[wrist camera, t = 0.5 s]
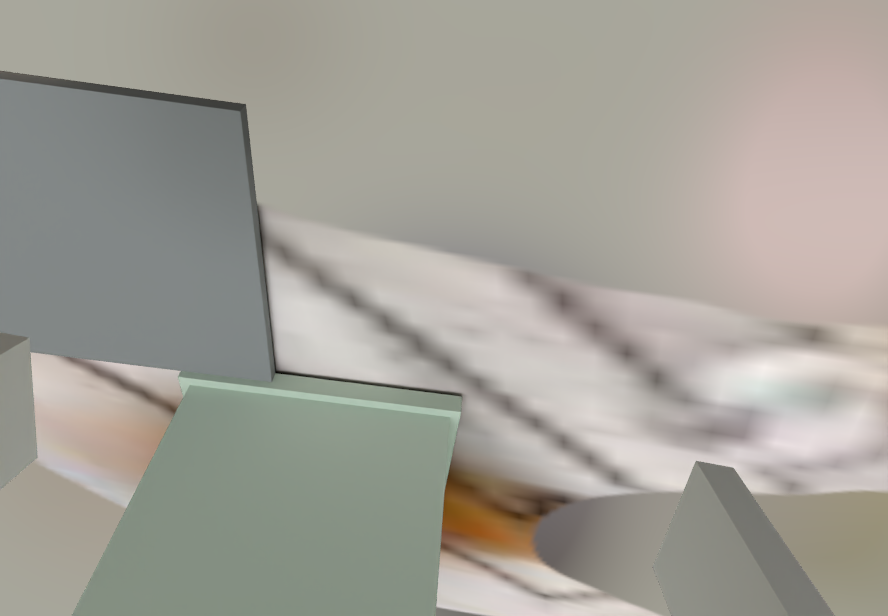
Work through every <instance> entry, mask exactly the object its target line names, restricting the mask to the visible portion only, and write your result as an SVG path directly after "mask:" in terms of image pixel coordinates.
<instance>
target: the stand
mask: <svg viewBox="0 0 888 616" xmlns="http://www.w3.org/2000/svg"><path fill="white" fill-rule="evenodd" d="M178 379H179V383H180V387H181V390H182V394H183V399H182V401H181V403H180V405H179V407H178V409H177V411H176V413H175V415H174V417H173V419H172V421H171V423H170V425H169V426H168V428H167V430H166V432H165V434H164V436H163V438H162V440H161V442H160V444H159V446H158V448H157V450H156V452H155V454H154V456H153V458H152V460H151V462H150V464H149V466H148V467H147V469H146V471H145V473H144V475H143V477H142V479H141V481H140V483H139V485H138V487H137V489H136V491H135V493H134V495H133V497H132V499H131V501H130V503H129V505H128V507H127V509H126V511H125V512H124V515H123V517H122V518H121V520H120V522H119V524H118V526H117V528H116V530H115V532H114V534H113V536H112V538H111V540H110V542H109V544H108V546H107V548H106V550H105V552H104V553H103V556H102V557H101V559H100V561H99V563H98V565H97V567H96V569H95V571H94V573H93V575H92V577H91V579H90V581H89V583H88V585H87V587H86V589H85V591H84V593H83V595H82V597H81V599H80V600H79V603H78V604H77V606H76V608H75V610H74V613H73V614H72V616H435V614H436V601H437V587H438V574H439V560H440V546H441V532H442V519H443V505H444V491H445V487H446V482H447V477H448V472H449V467H450V463H451V458H452V453H453V448H454V444H455V439H456V434H457V429H458V424H459V420H460V415H461V405H462V397H461V396H453V395H445V394H437V393H429V392H421V391H413V390H405V389H397V388H389V387H381V386H373V385H365V384H357V383H349V382H341V381H333V380H325V379H317V378H309V377H301V376H293V375H285V374H277V373H275V375H274V378H273V381H272V382H266V381H258V380H250V379H242V378H234V377H226V376H218V375H210V374H202V373H194V372H186V371H181V372H180V374H179V376H178Z"/></svg>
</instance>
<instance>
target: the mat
mask: <svg viewBox="0 0 888 616" xmlns="http://www.w3.org/2000/svg"><path fill="white" fill-rule="evenodd" d="M0 332H1V333H6V334H12V335H17V336H23V337H28V338H29V339H30V352H34V353H42V354H50V355H58V356H66V357H74V358H82V359H90V360H98V361H106V362H114V363H122V364H130V365H138V366H146V367H154V368H162V369H170V370H178V371H186V372H194V373H202V374H210V375H218V376H226V377H234V378H242V379H250V380H258V381H266V382H272V381H273V378H274V375H275V366H274V357H273V348H272V339H271V330H270V321H269V311H268V302H267V293H266V284H265V275H264V266H263V257H262V248H261V239H260V229H259V220H258V211H257V202H256V194H255V184H254V175H253V166H252V157H251V148H250V138H249V130H248V121H247V111H246V104H240V103H232V102H225V101H217V100H210V99H203V98H195V97H188V96H181V95H174V94H166V93H159V92H152V91H143V90H137V89H130V88H122V87H115V86H108V85H100V84H93V83H86V82H78V81H70V80H64V79H56V78H49V77H42V76H34V75H27V74H19V73H12V72H5V71H0Z"/></svg>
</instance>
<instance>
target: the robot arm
mask: <svg viewBox="0 0 888 616" xmlns="http://www.w3.org/2000/svg"><path fill="white" fill-rule="evenodd" d="M36 458H37V442H36V427H35V413H34V398H33V383H32V369H31V354H30V339H29V338H28V337H23V336H17V335H12V334H6V333H1V332H0V490H1V489H2V488H3V487H4V486H5V485H6V484H8V483H9V482H10V481H11V480H12V479H13V478H14V477H16V476H17V475H18V474H19V473H20V472H21V471H22V470H24V469H25V468H26V467H27V466H28V465H29V464H30V463H32V462H33V461H34V460H35V459H36ZM653 569H654V572H655V574H656V577H657V580H658V582H659V585H660V588H661V590H662V593H663V596H664V598H665V601H666V603H667V606H668V609H669V611H670V614H671V616H835V615H834V614H833V612H832V611H831V609H830V608H829V606H828V605H827V603H826V602H825V601H824V599H823V598H822V597H821V595H820V593H819V592H818V590H817V589H816V587H815V586H814V585H813V584H812V582H811V580H810V579H809V577H808V576H807V574H806V573H805V571H804V570H803V569H802V567H801V566H800V564H799V563H798V561H797V560H796V558H795V557H794V555H793V554H792V553H791V551H790V550H789V548H788V547H787V545H786V544H785V542H784V541H783V539H782V538H781V537H780V535H779V534H778V532H777V531H776V529H775V528H774V526H773V525H772V523H771V522H770V521H769V519H768V518H767V516H766V515H765V513H764V512H763V510H762V509H761V507H760V506H759V504H758V503H757V502H756V500H755V499H754V497H753V496H752V494H751V493H750V491H749V490H748V488H747V487H746V485H745V484H744V483H743V481H742V480H741V478H740V477H739V475H738V474H737V472H736V471H735V469H734V468H731V467H726V466H721V465H715V464H710V463H704V462H699V461H696V462H695V465H694V467H693V469H692V472H691V474H690V477H689V479H688V482H687V484H686V487H685V489H684V491H683V494H682V496H681V499H680V501H679V504H678V506H677V509H676V511H675V514H674V516H673V518H672V521H671V523H670V526H669V528H668V531H667V533H666V536H665V538H664V540H663V543H662V545H661V548H660V550H659V553H658V555H657V558H656V560H655V562H654V565H653Z"/></svg>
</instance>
